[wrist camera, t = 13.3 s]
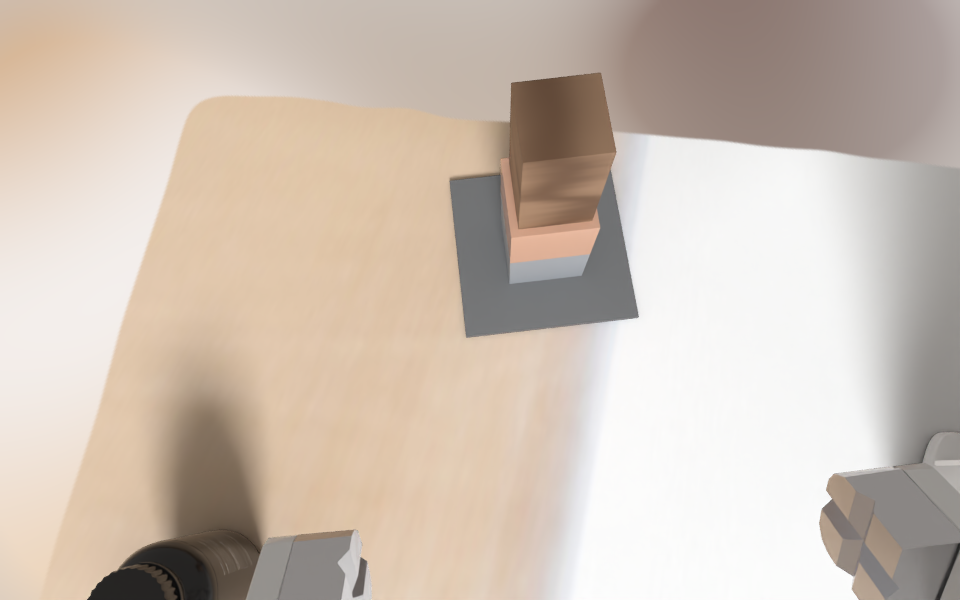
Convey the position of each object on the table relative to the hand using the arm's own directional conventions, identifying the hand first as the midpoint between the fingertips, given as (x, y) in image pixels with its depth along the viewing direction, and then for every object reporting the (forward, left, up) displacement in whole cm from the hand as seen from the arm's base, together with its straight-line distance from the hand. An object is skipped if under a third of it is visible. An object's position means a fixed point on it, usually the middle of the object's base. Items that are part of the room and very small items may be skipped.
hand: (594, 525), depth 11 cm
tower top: (-4, -19, -32) cm, 38 cm away
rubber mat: (-4, -19, -37) cm, 42 cm away
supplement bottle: (+23, +4, -38) cm, 44 cm away
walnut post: (-4, -19, -27) cm, 33 cm away
